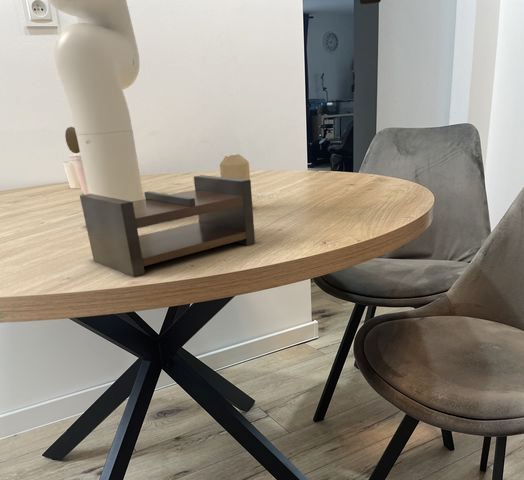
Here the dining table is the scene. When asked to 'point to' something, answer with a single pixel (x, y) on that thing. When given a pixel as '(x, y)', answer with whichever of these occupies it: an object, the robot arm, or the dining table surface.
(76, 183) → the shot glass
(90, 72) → the robot arm
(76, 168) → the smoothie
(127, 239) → the rack
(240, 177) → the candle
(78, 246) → the dining table surface
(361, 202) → the dining table surface
